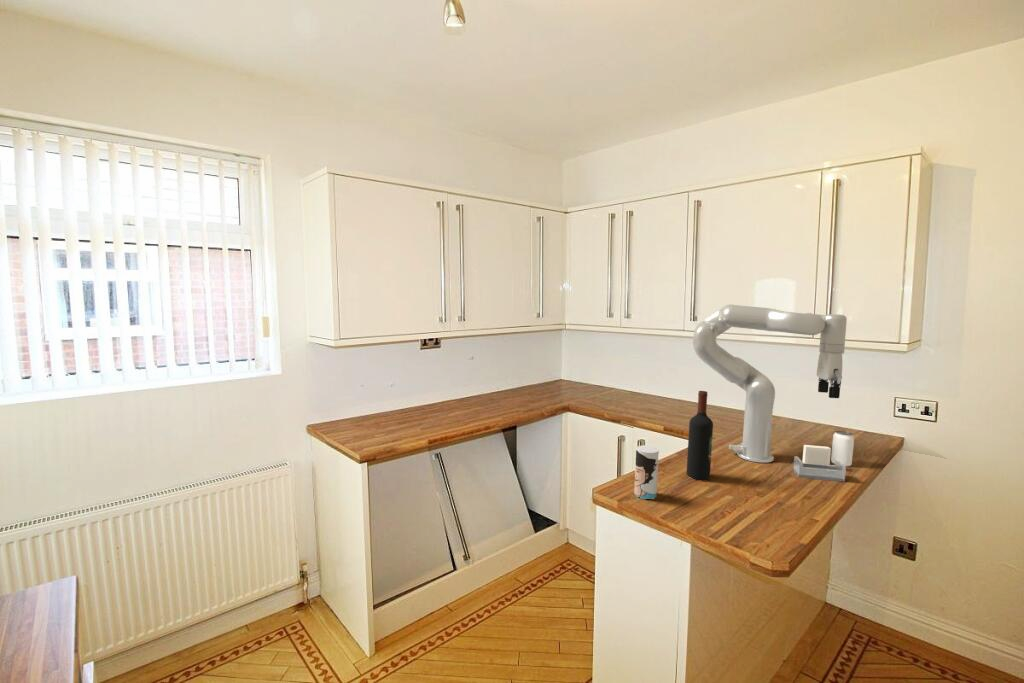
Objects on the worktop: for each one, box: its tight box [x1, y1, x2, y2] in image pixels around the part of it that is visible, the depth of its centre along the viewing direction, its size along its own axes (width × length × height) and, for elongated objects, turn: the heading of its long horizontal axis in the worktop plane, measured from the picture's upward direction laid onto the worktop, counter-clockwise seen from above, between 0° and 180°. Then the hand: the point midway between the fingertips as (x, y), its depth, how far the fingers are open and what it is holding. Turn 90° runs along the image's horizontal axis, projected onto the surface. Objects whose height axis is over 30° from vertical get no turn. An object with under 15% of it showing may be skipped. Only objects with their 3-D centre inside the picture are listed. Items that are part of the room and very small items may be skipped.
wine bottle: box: [686, 390, 714, 481], centre depth 164 cm, size 8×8×30 cm
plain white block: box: [801, 444, 832, 465], centre depth 175 cm, size 8×3×8 cm, turn 75°
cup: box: [633, 445, 659, 499], centre depth 149 cm, size 7×7×15 cm
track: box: [792, 455, 847, 483], centre depth 167 cm, size 14×6×6 cm, turn 75°
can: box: [830, 430, 855, 468], centre depth 179 cm, size 6×6×12 cm
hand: (828, 395), depth 174 cm, fingers open, 9 cm apart
